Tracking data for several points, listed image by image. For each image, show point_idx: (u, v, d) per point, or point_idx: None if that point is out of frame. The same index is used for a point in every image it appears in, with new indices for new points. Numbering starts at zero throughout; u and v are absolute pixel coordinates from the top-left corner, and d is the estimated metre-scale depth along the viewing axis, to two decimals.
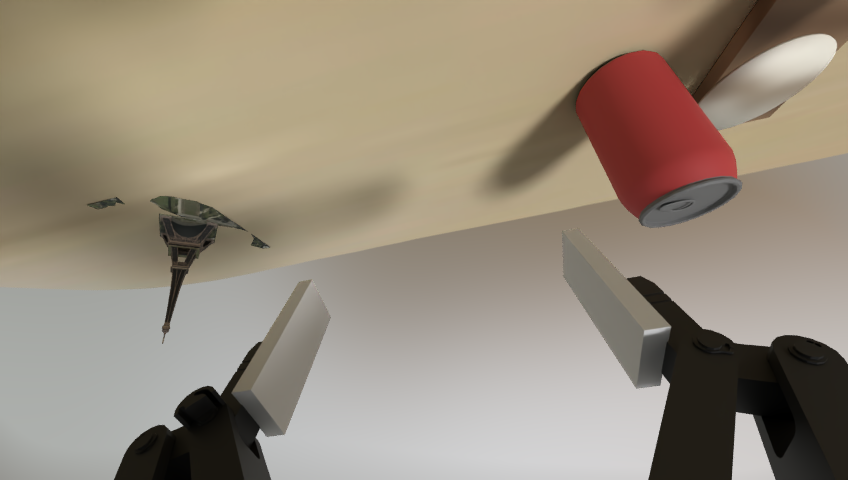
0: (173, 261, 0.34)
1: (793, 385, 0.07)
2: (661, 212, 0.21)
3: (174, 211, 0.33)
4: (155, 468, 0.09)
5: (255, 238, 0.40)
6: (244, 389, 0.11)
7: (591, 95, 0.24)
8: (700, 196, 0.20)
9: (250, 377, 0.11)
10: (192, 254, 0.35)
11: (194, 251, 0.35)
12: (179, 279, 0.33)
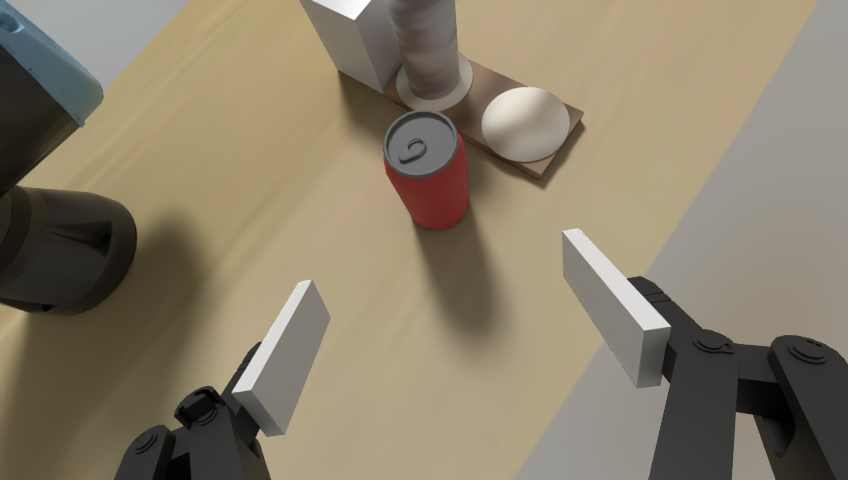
0: None
1: (793, 385, 0.07)
2: (418, 161, 0.23)
3: None
4: (155, 468, 0.09)
5: None
6: (244, 389, 0.11)
7: None
8: (418, 134, 0.23)
9: (250, 377, 0.11)
10: None
11: None
12: None
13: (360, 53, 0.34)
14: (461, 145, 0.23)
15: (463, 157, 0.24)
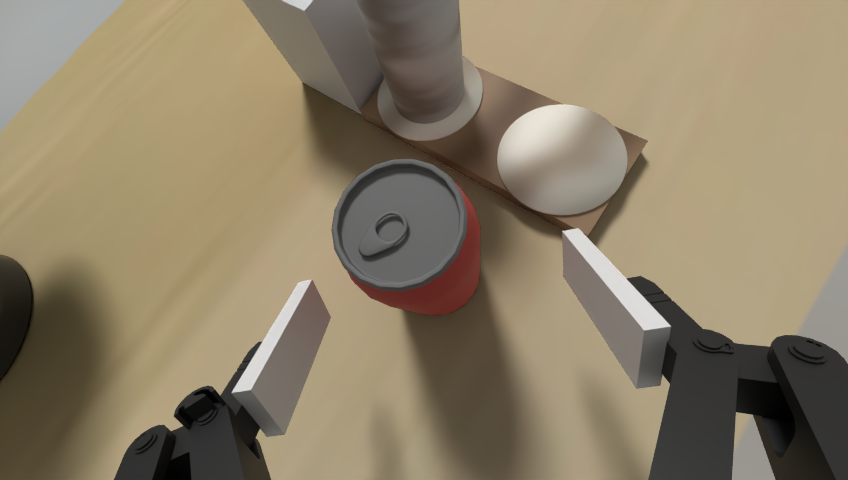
0: None
1: (793, 385, 0.07)
2: (395, 256, 0.12)
3: None
4: (155, 468, 0.09)
5: None
6: (244, 389, 0.11)
7: None
8: (395, 204, 0.13)
9: (250, 377, 0.11)
10: None
11: None
12: None
13: (323, 60, 0.24)
14: (472, 222, 0.13)
15: (476, 242, 0.13)
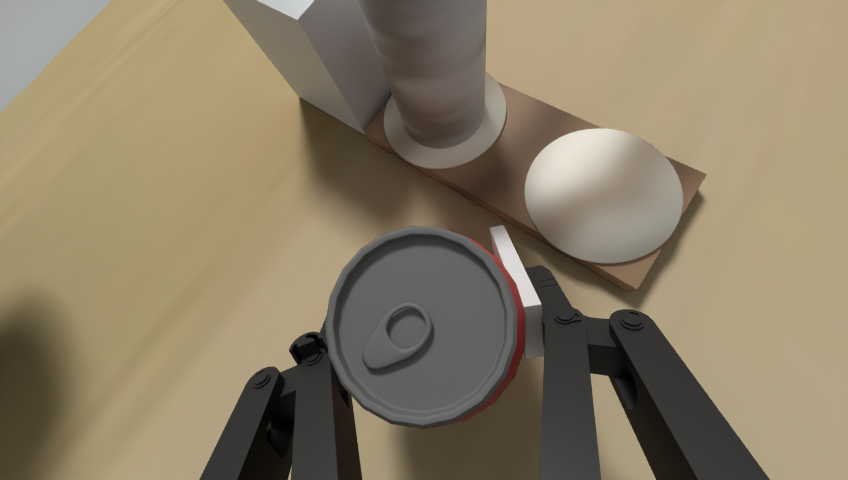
0: None
1: (628, 352, 0.09)
2: (413, 370, 0.09)
3: None
4: (265, 408, 0.10)
5: None
6: None
7: None
8: (414, 291, 0.09)
9: None
10: None
11: None
12: None
13: (321, 76, 0.20)
14: (519, 316, 0.09)
15: (523, 341, 0.10)
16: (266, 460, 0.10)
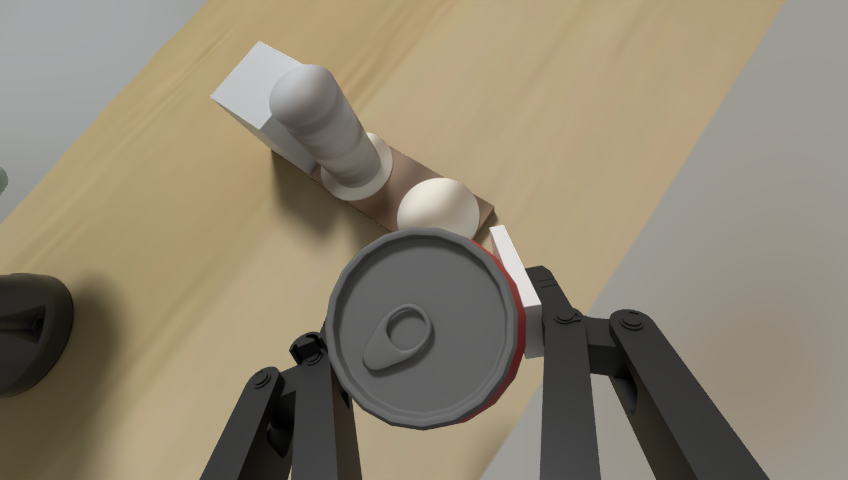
0: None
1: (628, 352, 0.09)
2: (413, 371, 0.09)
3: None
4: (265, 407, 0.10)
5: None
6: None
7: None
8: (414, 292, 0.09)
9: None
10: None
11: None
12: None
13: (278, 148, 0.35)
14: (520, 317, 0.09)
15: (523, 342, 0.10)
16: (266, 460, 0.10)
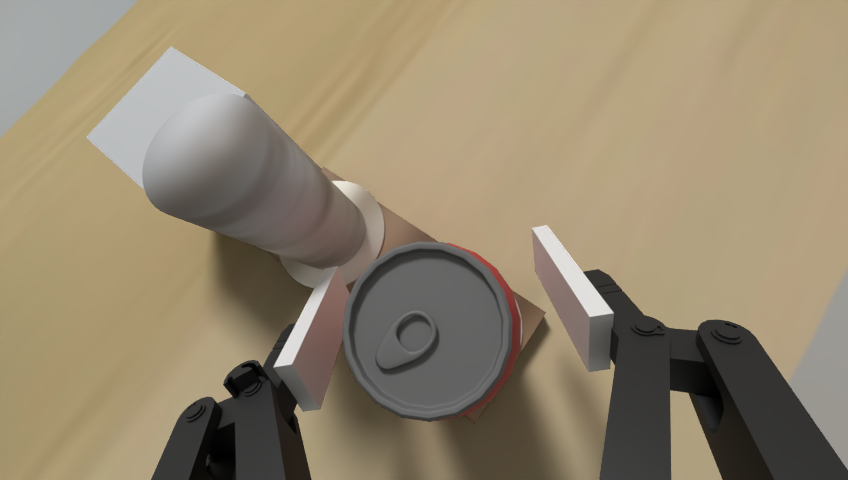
0: None
1: (718, 366, 0.08)
2: (420, 370, 0.10)
3: None
4: (202, 439, 0.10)
5: None
6: (285, 364, 0.12)
7: None
8: (420, 300, 0.11)
9: (289, 353, 0.12)
10: None
11: None
12: None
13: None
14: (515, 322, 0.11)
15: (518, 344, 0.11)
16: None
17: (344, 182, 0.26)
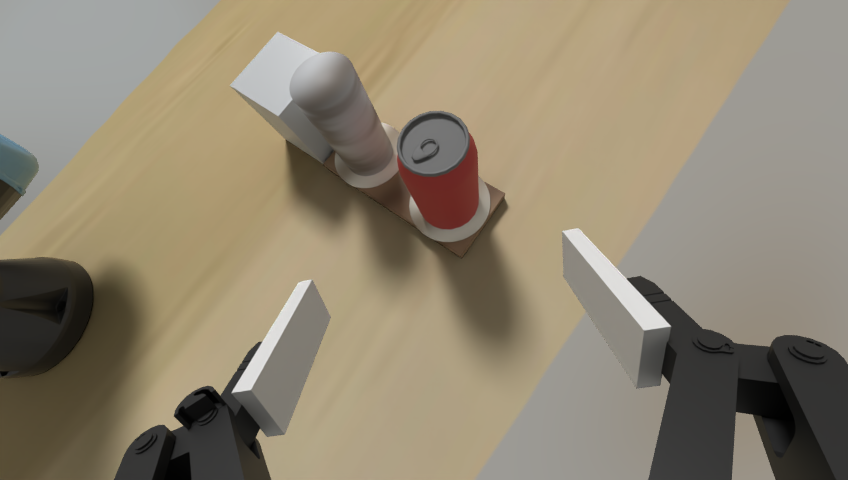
0: None
1: (793, 385, 0.07)
2: (431, 160, 0.23)
3: None
4: (155, 468, 0.09)
5: None
6: (244, 389, 0.11)
7: (420, 211, 0.33)
8: (431, 135, 0.24)
9: (250, 377, 0.11)
10: None
11: None
12: None
13: (294, 136, 0.36)
14: (472, 145, 0.24)
15: (474, 157, 0.24)
16: None
17: None
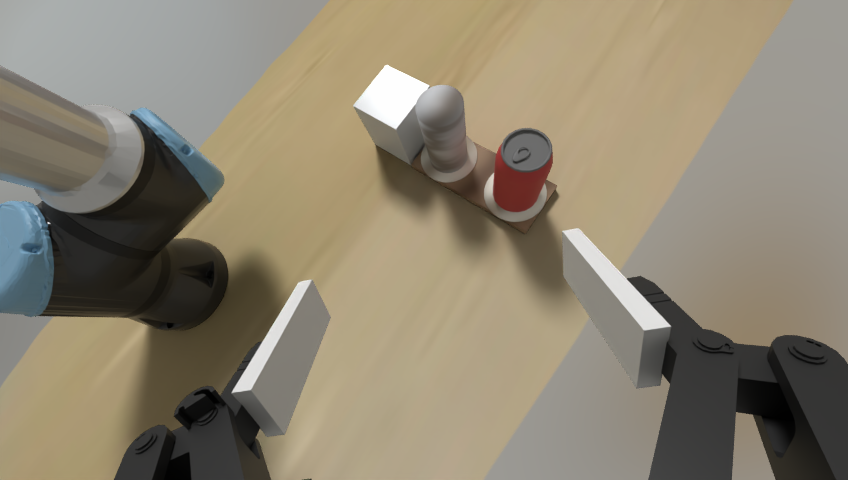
0: None
1: (793, 385, 0.07)
2: (525, 161, 0.35)
3: None
4: (155, 468, 0.09)
5: None
6: (244, 389, 0.11)
7: (496, 198, 0.45)
8: (524, 144, 0.36)
9: (250, 377, 0.11)
10: None
11: None
12: None
13: (396, 143, 0.47)
14: (551, 151, 0.36)
15: (552, 159, 0.36)
16: None
17: None
